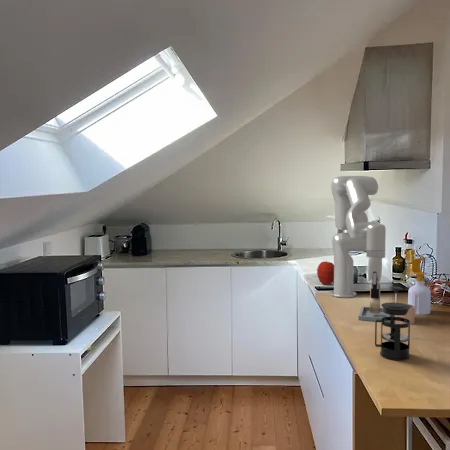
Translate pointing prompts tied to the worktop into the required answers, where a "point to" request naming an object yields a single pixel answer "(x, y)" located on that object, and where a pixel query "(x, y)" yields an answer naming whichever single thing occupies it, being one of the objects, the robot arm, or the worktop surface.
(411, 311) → the cup
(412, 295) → the soap bottle
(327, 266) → the apple
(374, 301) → the dowel
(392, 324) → the french press
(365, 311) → the tray
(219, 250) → the worktop surface
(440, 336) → the worktop surface
